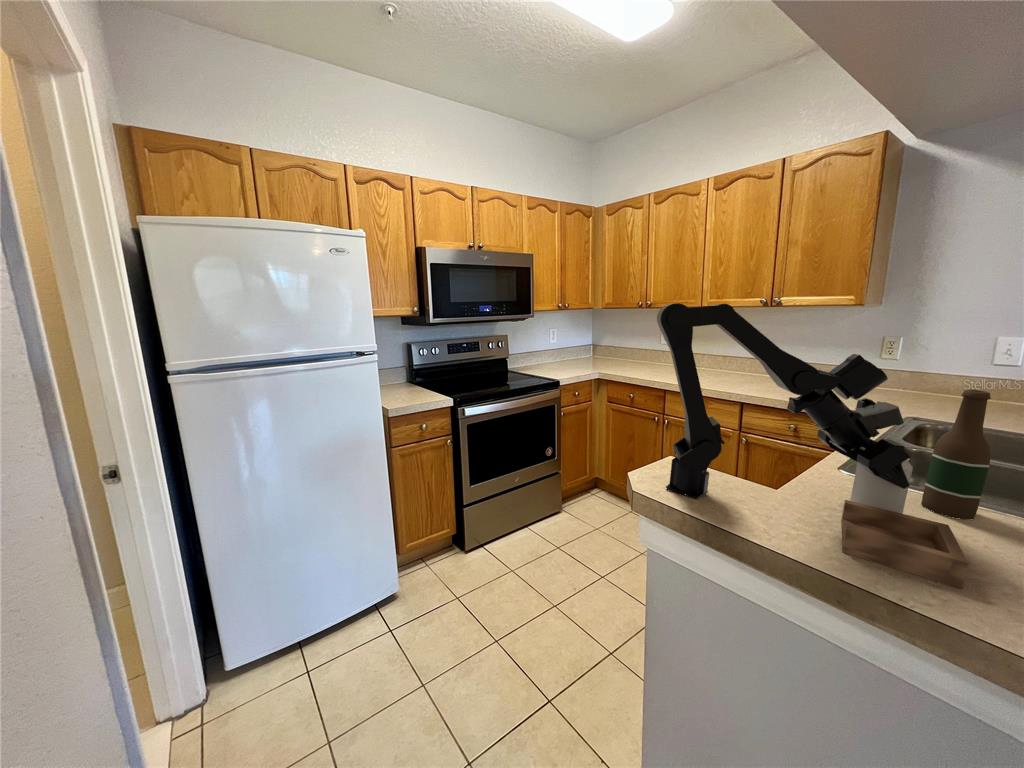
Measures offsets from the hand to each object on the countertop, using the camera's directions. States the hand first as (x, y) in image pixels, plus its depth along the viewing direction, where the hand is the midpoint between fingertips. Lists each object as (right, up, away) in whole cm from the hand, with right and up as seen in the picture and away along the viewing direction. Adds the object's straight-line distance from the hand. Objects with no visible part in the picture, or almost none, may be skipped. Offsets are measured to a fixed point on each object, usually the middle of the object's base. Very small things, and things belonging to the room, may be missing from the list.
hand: (889, 476), depth 75 cm
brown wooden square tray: (-9, -9, -10) cm, 17 cm away
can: (-1, -7, +2) cm, 8 cm away
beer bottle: (+14, -8, +3) cm, 16 cm away
